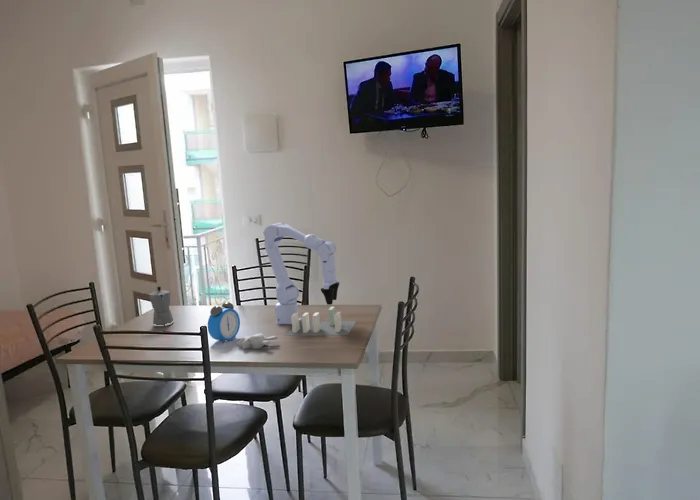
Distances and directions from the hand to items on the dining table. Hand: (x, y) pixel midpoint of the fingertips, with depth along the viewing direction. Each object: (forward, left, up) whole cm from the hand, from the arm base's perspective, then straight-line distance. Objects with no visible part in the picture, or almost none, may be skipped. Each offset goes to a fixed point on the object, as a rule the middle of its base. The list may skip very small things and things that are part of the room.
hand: (331, 302), depth 232 cm
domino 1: (-14, -9, -10) cm, 19 cm away
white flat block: (+4, -9, -10) cm, 14 cm away
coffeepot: (-83, +5, -10) cm, 84 cm away
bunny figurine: (-24, -28, -10) cm, 38 cm away
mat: (-4, -6, -10) cm, 12 cm away
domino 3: (-5, -9, -10) cm, 14 cm away
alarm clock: (-41, -19, -10) cm, 46 cm away
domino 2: (-9, -9, -10) cm, 16 cm away
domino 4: (0, 0, -10) cm, 10 cm away
